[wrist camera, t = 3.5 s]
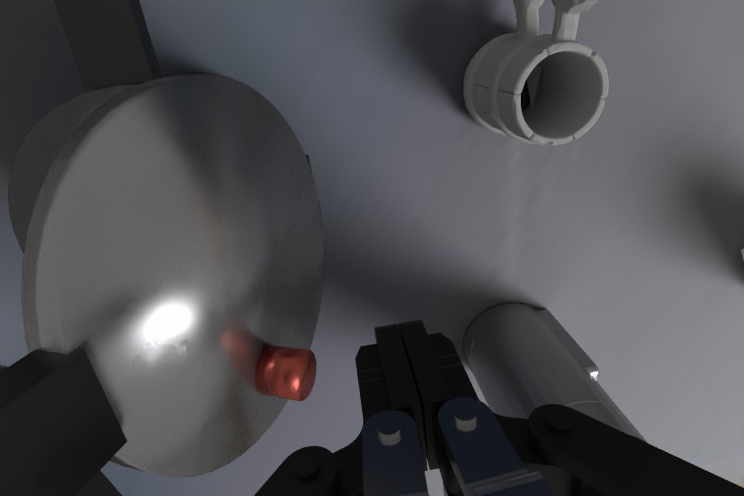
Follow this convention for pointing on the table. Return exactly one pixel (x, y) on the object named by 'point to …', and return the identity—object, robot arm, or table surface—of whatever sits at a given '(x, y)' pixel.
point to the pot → (98, 69)
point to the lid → (163, 289)
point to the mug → (538, 78)
